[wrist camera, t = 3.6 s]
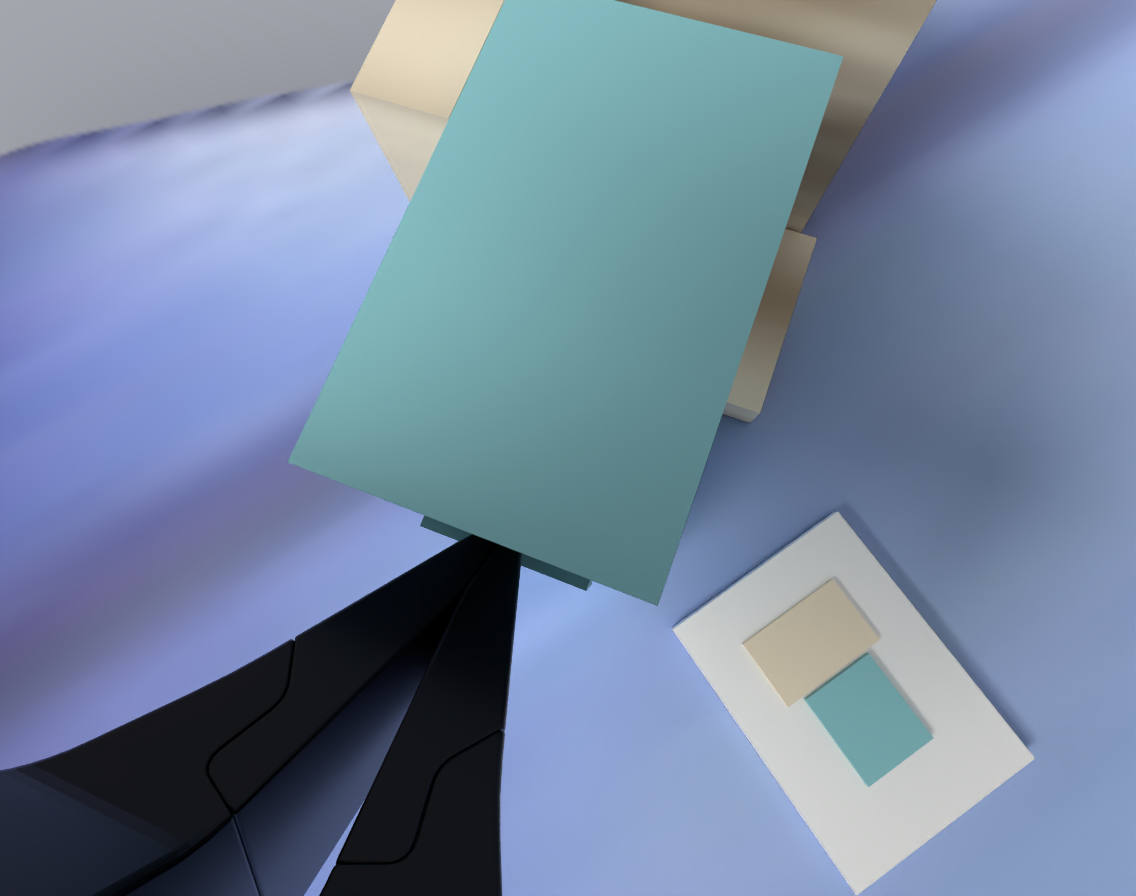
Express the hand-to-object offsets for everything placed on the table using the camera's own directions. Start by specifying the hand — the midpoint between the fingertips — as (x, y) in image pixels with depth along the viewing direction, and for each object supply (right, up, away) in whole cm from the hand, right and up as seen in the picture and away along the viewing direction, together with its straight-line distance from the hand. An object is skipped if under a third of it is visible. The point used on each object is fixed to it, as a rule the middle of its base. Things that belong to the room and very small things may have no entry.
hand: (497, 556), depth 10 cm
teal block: (+2, +2, +9) cm, 9 cm away
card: (+9, -5, +7) cm, 12 cm away
